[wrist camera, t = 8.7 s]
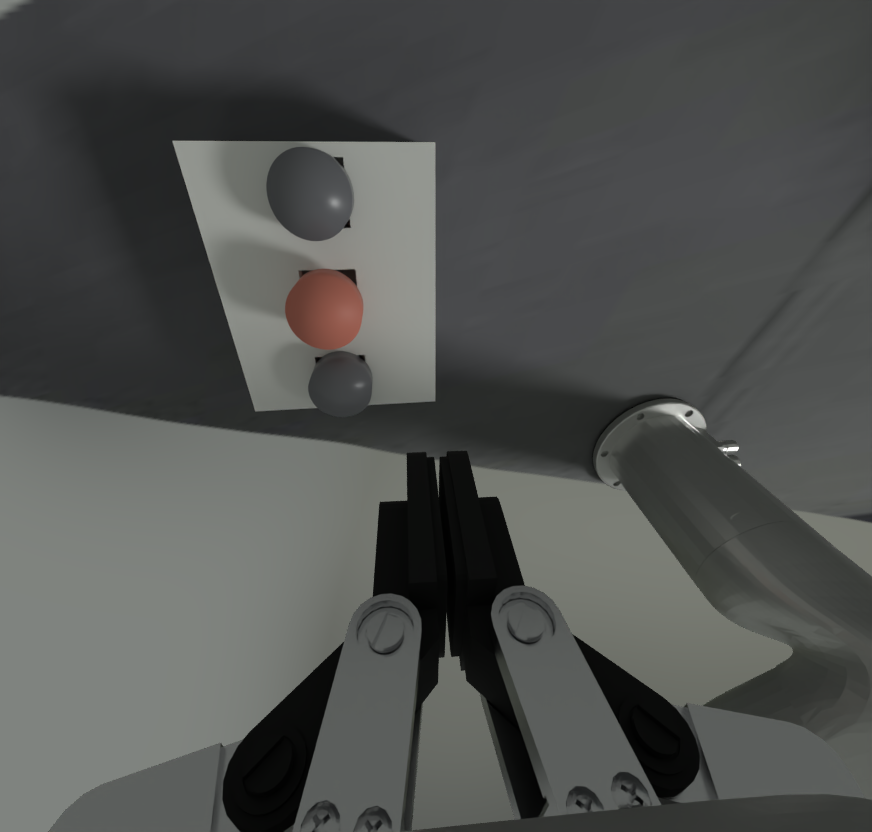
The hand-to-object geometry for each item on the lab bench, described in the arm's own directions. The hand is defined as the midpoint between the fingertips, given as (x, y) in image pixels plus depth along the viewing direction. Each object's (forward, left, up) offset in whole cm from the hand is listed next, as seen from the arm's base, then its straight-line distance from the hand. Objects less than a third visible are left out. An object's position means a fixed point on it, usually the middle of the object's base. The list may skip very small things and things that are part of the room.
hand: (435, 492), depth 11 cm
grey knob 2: (+5, +6, -22) cm, 23 cm away
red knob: (+5, 0, -20) cm, 21 cm away
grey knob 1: (+5, -6, -22) cm, 23 cm away
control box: (+5, 0, -24) cm, 25 cm away
